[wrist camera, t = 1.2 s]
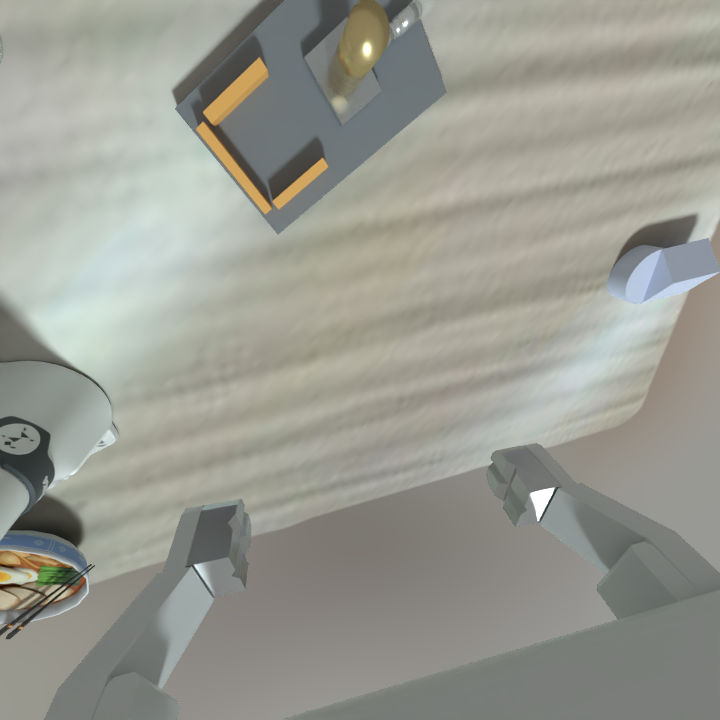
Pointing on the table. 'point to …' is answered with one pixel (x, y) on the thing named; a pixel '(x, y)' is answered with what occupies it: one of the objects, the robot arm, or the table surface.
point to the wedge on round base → (661, 271)
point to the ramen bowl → (39, 577)
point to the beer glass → (0, 51)
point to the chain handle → (356, 55)
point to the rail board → (303, 108)
